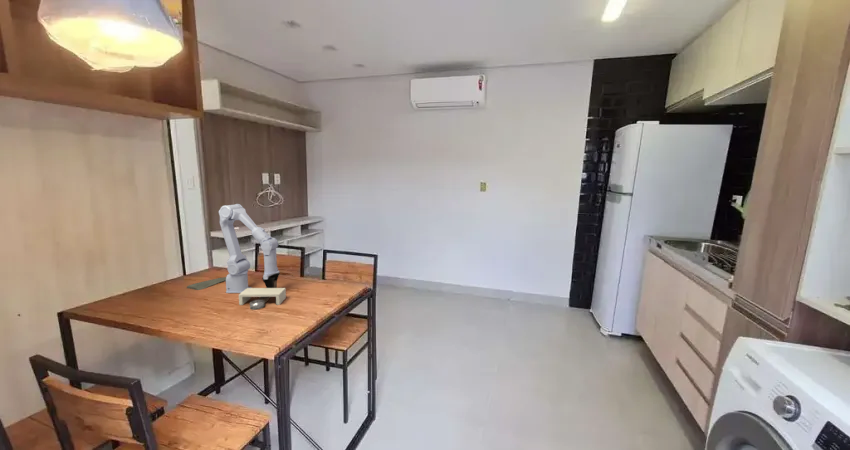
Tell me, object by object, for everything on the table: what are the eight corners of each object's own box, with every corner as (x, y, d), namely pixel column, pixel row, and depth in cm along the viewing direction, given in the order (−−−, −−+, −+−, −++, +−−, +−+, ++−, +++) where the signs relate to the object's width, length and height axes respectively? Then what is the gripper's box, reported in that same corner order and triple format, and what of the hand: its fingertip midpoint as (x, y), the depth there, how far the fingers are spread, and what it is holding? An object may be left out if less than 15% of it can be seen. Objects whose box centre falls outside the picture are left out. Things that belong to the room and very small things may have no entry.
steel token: (247, 310, 154) (247, 304, 153) (253, 304, 160) (252, 299, 159) (261, 310, 154) (261, 304, 154) (266, 304, 160) (266, 299, 160)
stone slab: (185, 291, 179) (199, 291, 176) (184, 285, 179) (198, 285, 176) (222, 279, 200) (236, 279, 197) (222, 274, 200) (235, 274, 197)
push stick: (256, 304, 160) (255, 292, 159) (270, 291, 177) (269, 280, 176) (264, 304, 160) (263, 292, 159) (277, 291, 177) (276, 280, 176)
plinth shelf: (239, 305, 158) (238, 294, 158) (247, 297, 167) (247, 288, 167) (279, 304, 160) (279, 294, 159) (285, 297, 169) (285, 287, 168)
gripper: (273, 266, 165) (274, 293, 167) (283, 259, 180) (284, 284, 182) (258, 266, 165) (259, 293, 167) (269, 259, 179) (270, 284, 181)
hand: (271, 288), depth 174 cm, fingers open, 5 cm apart
